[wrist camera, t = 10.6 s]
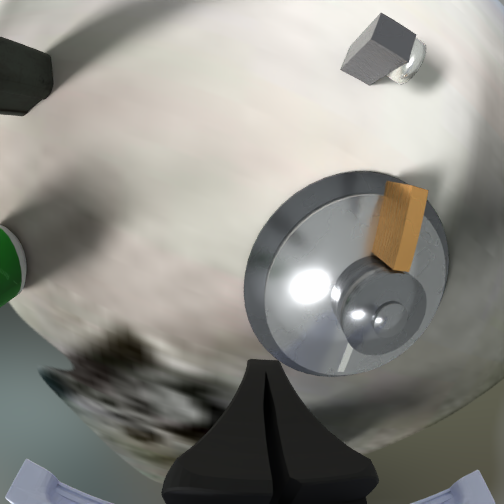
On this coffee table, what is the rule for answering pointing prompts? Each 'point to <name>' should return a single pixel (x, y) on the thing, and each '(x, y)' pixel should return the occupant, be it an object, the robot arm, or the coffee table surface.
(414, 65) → the grey cube on chrome
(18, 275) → the soda can
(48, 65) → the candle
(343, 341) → the turntable
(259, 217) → the coffee table surface
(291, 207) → the turntable base
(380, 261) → the cover
